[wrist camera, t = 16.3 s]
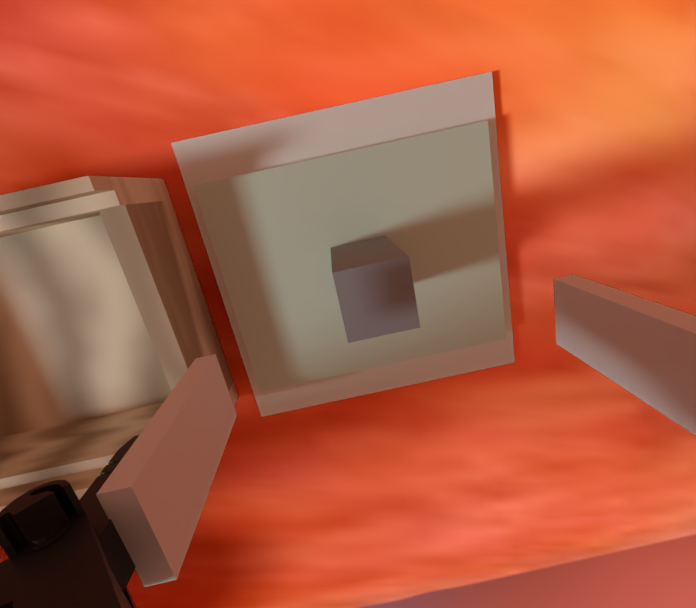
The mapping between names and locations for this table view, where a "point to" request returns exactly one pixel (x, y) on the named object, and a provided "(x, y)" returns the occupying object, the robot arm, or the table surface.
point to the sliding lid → (361, 255)
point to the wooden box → (91, 325)
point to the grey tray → (337, 137)
